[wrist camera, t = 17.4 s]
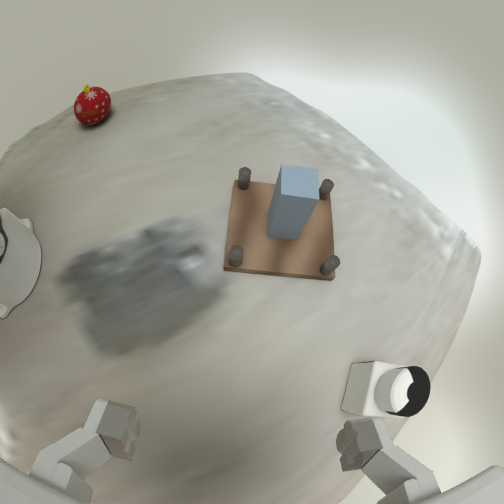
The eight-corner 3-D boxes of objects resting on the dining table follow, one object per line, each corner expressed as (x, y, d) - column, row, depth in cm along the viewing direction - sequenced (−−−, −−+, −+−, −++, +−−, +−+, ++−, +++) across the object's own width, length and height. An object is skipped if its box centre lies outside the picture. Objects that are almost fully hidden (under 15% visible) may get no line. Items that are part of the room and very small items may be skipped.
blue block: (267, 237, 41) (281, 194, 31) (268, 210, 43) (281, 164, 33) (297, 240, 42) (319, 199, 32) (297, 214, 43) (317, 169, 33)
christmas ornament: (74, 134, 49) (60, 101, 40) (88, 109, 52) (77, 78, 43) (107, 130, 49) (95, 95, 40) (119, 106, 53) (110, 72, 44)
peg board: (223, 270, 40) (224, 257, 36) (234, 185, 46) (235, 165, 42) (331, 280, 41) (344, 269, 37) (327, 197, 47) (336, 180, 43)
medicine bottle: (390, 369, 36) (441, 364, 25) (380, 413, 34) (430, 422, 23) (351, 362, 37) (396, 357, 26) (339, 409, 34) (383, 421, 23)
